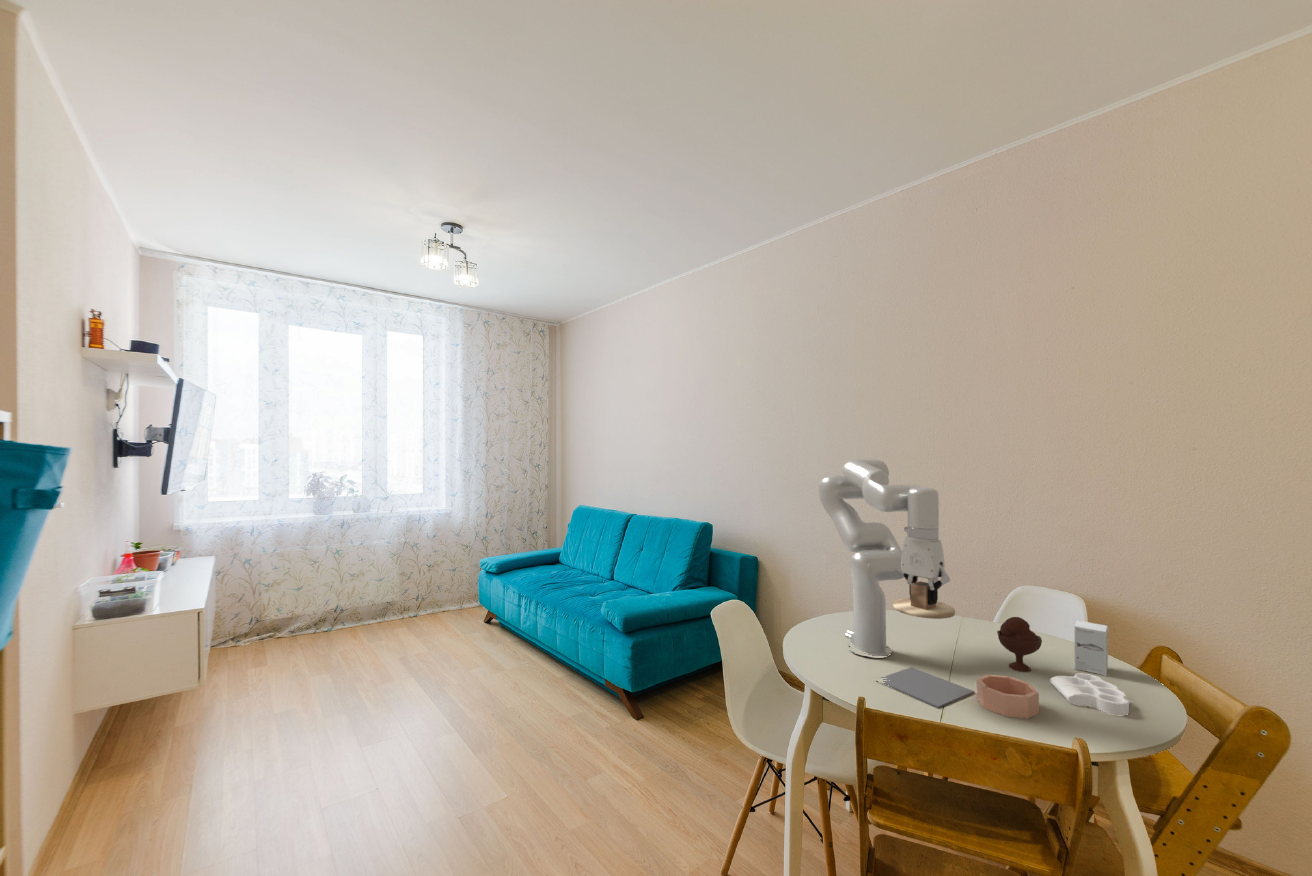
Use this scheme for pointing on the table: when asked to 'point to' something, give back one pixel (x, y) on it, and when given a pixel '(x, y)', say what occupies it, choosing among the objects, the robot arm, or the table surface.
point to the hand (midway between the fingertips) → (923, 600)
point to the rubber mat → (926, 687)
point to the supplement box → (1091, 647)
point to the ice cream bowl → (1018, 641)
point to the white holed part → (1092, 693)
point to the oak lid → (922, 604)
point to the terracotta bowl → (1008, 696)
